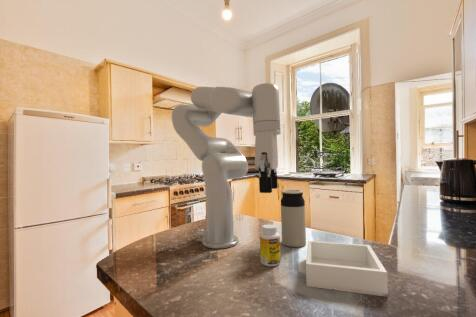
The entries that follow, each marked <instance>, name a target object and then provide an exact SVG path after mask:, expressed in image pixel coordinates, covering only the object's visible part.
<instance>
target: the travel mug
mask: <svg viewBox="0 0 476 317" xmlns="http://www.w3.org/2000/svg"><path fill="white" fill-rule="evenodd" d="M280 192H281V195H282V197H281V199H280V218H281V219H280V220H281V224H280V225H281V242H282V244H283V245H284V246H286V247H289V248H290V247H292V248H300V247H303V246H305V245H306V244H307V239H306V238H307V236H306V233H307V232H306V205H305V204H306V201H305V199H304V197H303V194H304V190H303V189H282V190H281V191H280Z"/></svg>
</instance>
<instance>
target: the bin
mask: <svg viewBox="0 0 476 317" xmlns="http://www.w3.org/2000/svg"><path fill="white" fill-rule="evenodd" d="M306 244H307V245H306V246H307V247H306V258H305V259H306V260H305V274H306V275H305V277H306V278H305V279H306V280H305V281H306V287H311V288H319V289H326V290H332V289H334V291H340V292H348V293H357V294H363V295H369V296H379V297H385V298H386V297H389V289H388V288H389V286H388V272H387V269H386V268H385V267H384V265H383V264H382V262H381V260H380V258H379V257H378V255H377V254H376V252H375V251H374V250H373V248H372V246H371V245H370V244H360V243H343V242H333V241H332V242H331V241H320V240H318V241H317V240H307V243H306Z"/></svg>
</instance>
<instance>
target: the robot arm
mask: <svg viewBox="0 0 476 317" xmlns="http://www.w3.org/2000/svg"><path fill="white" fill-rule="evenodd" d="M251 90H252V91H248V90H244V89H241V88H235V87H226V86H215V87H214V86H198V87H196V88H194V89H193V90H192V92H191V93H190V101H191V103H192V104H193V105H192V104H180V105H176V106H175V107H174V108H173V109H172V112H171V123H172V126H173V129H174V130H175V132H176V134H177V135H178V136H179V137H180V138H181V139H182V140H183V141H184V142H185V143H186V145H187V146H188V148H189V149H190V151H191V152H192V153H193V155H194V156H195V157H196V158H197V159H198V161H201V171H202V175H203V180H204V187H205V188H204V189H205V216H206V217H205V218H206V221H205V222H206V225H205V226H206V229H204V228H198V229H197V232H196V234H197V237H203V238H202V245H203V246H204V247H206V248H210V249H226V248H231V247H234V246H236V245H237V244H238V243H239V237H238V236H237V235H235V234H234V233H235V232H234V203H233V202H234V201H233V190H232V187H231V186H230V184H229V182H228V180H235V179H241V178H244V177H245V176H246V175H247V174H248V172H249V163H248V160H247V158H246V156H245V155H244V154H243V153H242V152H241V151H240V150H239V149H238V148H237V146H236V145H235V144H234V143H233V142H232V141H231V140H229V139H227V138H223V137H213V136H208V135H207V133H205V131H204V130H203V129H202V128H205V127H206V128H207V127H209V126H211V125H212V124H213V123H214V122H215V121H216V120H217V119H218V118H219V116H221V114H227V115H232V116H240V117H247V118H252V125H253V127H252V128H253V129H252V131H253V136H254V137H255V141H254V143H255V144H254V147H255V148H254V169H255V170H256V171H258V188H259V190H258V191H259V193H260V194H271V193H272V192H273V189H275V190H276V189H278V185H279V184H278V172H277V169H278V165H279V155H278V152H279V151H278V137H277V136H279V135H281V111H280V110H281V109H280V93H279V92H280V90H279V88H278V86H277V84H274V83H269V82H268V83H267V82H265V83H259V84H257V85H255V86H254V87H253V88H252V89H251ZM201 127H202V128H201Z"/></svg>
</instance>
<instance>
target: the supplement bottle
mask: <svg viewBox="0 0 476 317" xmlns="http://www.w3.org/2000/svg"><path fill="white" fill-rule="evenodd" d="M261 228H262V231H261V232H260V233H259V254H260V255H259V256H260V258H259V259H260V260H259V261H260V263H261V264H262V265H263V266H267V267H277V266H278V265H280V263H281V235H280V233H279V232H278V228H277V225H275V224H264V225H262V227H261Z"/></svg>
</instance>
